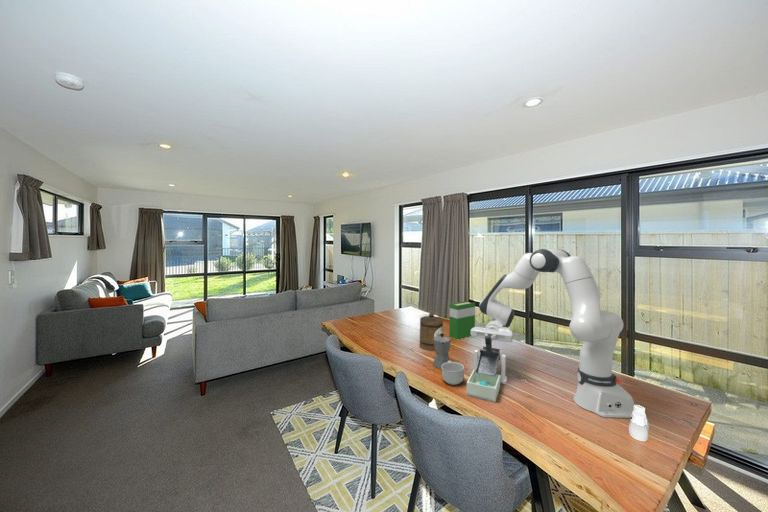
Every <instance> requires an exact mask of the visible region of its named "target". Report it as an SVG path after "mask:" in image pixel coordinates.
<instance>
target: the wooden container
mask: <svg viewBox="0 0 768 512" xmlns="http://www.w3.org/2000/svg"><path fill="white" fill-rule="evenodd" d="M419 323H420V325H419V347H420V349H423V350H426V351H435V346H434V338H435V337H438V336H439V335H440V334H444V332H443V331H444V319H443V318H442V317H440V316H435V314H434V313H433V312H430V313H428V316H421V317H420V319H419Z"/></svg>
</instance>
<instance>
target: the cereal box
mask: <svg viewBox="0 0 768 512" xmlns="http://www.w3.org/2000/svg"><path fill="white" fill-rule="evenodd" d="M474 327H476V302H469V300H464V301H459V302H454V303H453V302H452V303H449V338H451V337H452V338H451V339H453V338H455V339H454V340H456V339H459V340H462V339H461V338H463V339H466V338H465V337H467V338H471V337H472V336H471V329H472V328H474ZM470 336H471V337H470Z"/></svg>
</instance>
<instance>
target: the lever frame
mask: <svg viewBox="0 0 768 512" xmlns="http://www.w3.org/2000/svg"><path fill="white" fill-rule="evenodd" d="M473 353H474V354H473V356H474V357H473V370H475V369H476V365H477V361H478V357H479V349H475V350H474V352H473ZM506 359H507V357H506V354H501V359H500V361H501V367H500V368H501V371H500V374H497V373H496V374H497V375H500V384H504V385H506V384H507V380H508V376H507V375H506V364H507V363H506V362H507V361H506Z"/></svg>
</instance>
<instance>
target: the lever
mask: <svg viewBox="0 0 768 512" xmlns="http://www.w3.org/2000/svg"><path fill="white" fill-rule="evenodd" d="M484 343H485V346H482V348H479V352H478V361H477V365H476V369H475V370H476V373H480V374H485V375H489V376H494V377H496V374H497V371H498V366H499V362H500V361H501V359H502V356H501V349H499V348H495V347H493V345H492V343H493V340H492V338H491V336H485V338H484Z"/></svg>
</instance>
